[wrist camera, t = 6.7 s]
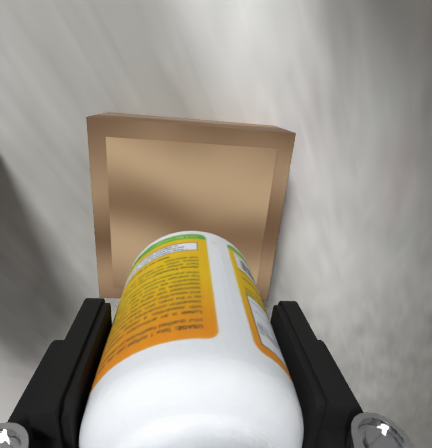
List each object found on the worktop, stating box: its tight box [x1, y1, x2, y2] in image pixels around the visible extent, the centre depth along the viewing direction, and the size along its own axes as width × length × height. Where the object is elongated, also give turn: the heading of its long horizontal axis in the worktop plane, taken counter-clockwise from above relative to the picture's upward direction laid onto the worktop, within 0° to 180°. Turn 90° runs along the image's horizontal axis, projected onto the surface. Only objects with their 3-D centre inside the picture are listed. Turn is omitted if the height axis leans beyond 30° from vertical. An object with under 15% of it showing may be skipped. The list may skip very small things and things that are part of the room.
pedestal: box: [86, 113, 296, 300], centre depth 22 cm, size 12×12×5 cm
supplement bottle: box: [79, 231, 304, 448], centre depth 9 cm, size 5×5×10 cm
